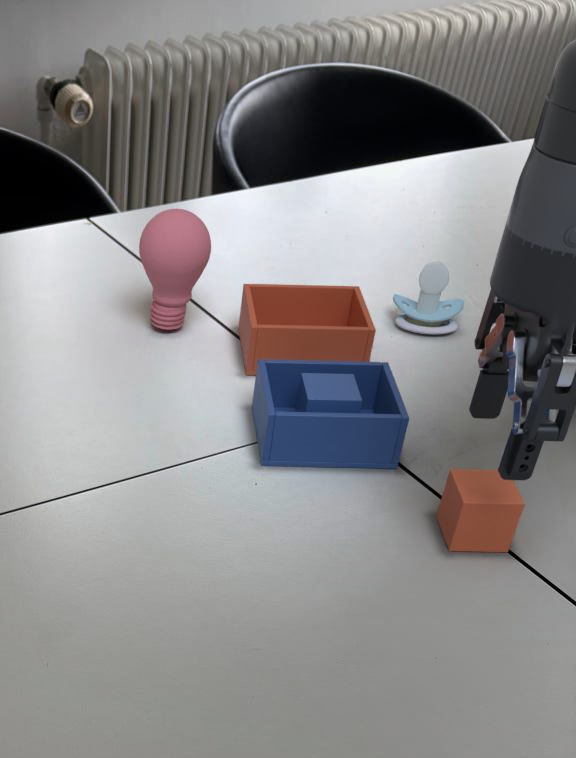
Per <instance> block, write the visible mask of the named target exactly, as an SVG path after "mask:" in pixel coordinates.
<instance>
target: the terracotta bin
mask: <svg viewBox="0 0 576 758" xmlns="http://www.w3.org/2000/svg"><path fill="white" fill-rule="evenodd" d="M237 330H238V336H239V340H240V342H239V343H240V348H241V354H242V360H243V366H244V371H245V375H246V376H256V371H257V363H258V359H264V360H265V359H269V360H312V361H356V362H370V360H371V355H372V350H373V345H374V340H375V336H376V331H377V329H376V327H375V324H374V322H373V319H372V317H371V314H370V311H369V309H368V306H367V304H366V301H365V299H364V295H363V293H362V290H361V287H360V285H359V286H358V285H357V286H356V285H322V284H321V285H319V284H317V285H315V284H278V283H277V284H276V283H272V284H271V283H243V286H242V293H241V302H240V312H239V320H238V329H237Z"/></svg>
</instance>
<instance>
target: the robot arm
mask: <svg viewBox="0 0 576 758" xmlns="http://www.w3.org/2000/svg"><path fill="white" fill-rule="evenodd" d="M536 128H537V129H536V131H535V135H534V137H533V143H532V145H531V148H530V151H529V153H528V156H527V159H526V161H525V163H524V165H523V168H522V170H521V171H520V175H519V177H518V180H517V184H516V186H515V190H514V194H513V197H512V201H511V204H510V207H509V211H508V214H507V218H506V222H505V224H504V229H503V232H502V236H501V238H500V242H499V246H498V249H497V253H496V257H495V260H494V263H493V268H492V271H491V275H490V277H489V287H490V290H489V293H488V296H487V300H486V303H485V306H484V310H483V313H482V316H481V319H480V322H479V326H478V329H477V332H476V335H475V339H474V349H475V350H478V351H479V350H480V351H481V352H480V354H479V356H478V359H477V364H478V368H479V369H480V370H479V374H478V377H477V381H476V384H475V388H474V391H473V394H472V397H471V400H470V404H469V408H468V412H469V413H470V415H471V417H472V418H473V419H478V420H479V419H481V420H482V419H483V420H485V419H486V420H488V419H489V420H494V419H497V418H498V417H499V416H500V415H501V412H502V409H503V407H504V406H503V405H504V403H505V400H506V397H507V398H508V399H509V400H510V401H512V403H513V414H512V427H511V429H510V431H509V434H508V438H507V441H506V444H505V447H504V450H503V453H502V456H501V459H500V462H499V465H498V468H497V470H498V472H499V474H500V476H501V478H502V479H504V480H513V481H527V480H529V479H530V478H531V477H532V475H533V473H534V471H535V468H536V465H537V462H538V460H539V456H540V454H541V451H542V448H543V445H544V444H545V443H544V442H563V441H565V439H566V436H567V434H568V431H569V428H570V424H571V421H572V418H573V416H574V412H575V410H576V354H573V352H572V350H573V336H574V332H575V326H576V38H575V39H573V40H572V41H570V42H569V43H568V44H567V45H565V47H564V48H563V50H562V51H561V53H560V55H559V57H558V59H557V62H556V63H555V66H554V69H553V73H552V76H551V79H550V82H549V86H548V89H547V94H546V97H545V100H544V104H543V107H542V110H541V114H540V117H539V121H538V124H537V127H536ZM494 324H495V325H494ZM493 325H494V327H493V328H492V326H493ZM524 382H534V383H535V382H536V386H527V385H525V383H524ZM529 402H530V404H529ZM528 404H529V409H528ZM557 410H558V411H557Z"/></svg>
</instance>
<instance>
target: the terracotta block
mask: <svg viewBox="0 0 576 758" xmlns="http://www.w3.org/2000/svg"><path fill="white" fill-rule="evenodd" d="M525 505H526V503H525V501H524V499H523V497H522V495H521V493H520V491H519V489H518V486H517V485H516V483H515V480H504V479H502V478H501V476H500V474H499V472H498V469H471V468H469V469H468V468H450V469H449V471H448V474H447V478H446V481H445V484H444V489H443V492H442V495H441V498H440V503H439V506H438V509H437V512H436V516H435V517H436V520H437V523H438V526H439V527H440V531H441V533H442V536H443V539H444V541H445V544H446V546H447V550H448V551H449V552H472V553H473V552H475V553H478V552H479V553H480V552H481V553H508V552H509V551H510V547H511V544H512V542H513V539H514V535H515V533H516V530H517V527H518V525H519V522H520V519H521V516H522V513H523V510H524V508H525Z"/></svg>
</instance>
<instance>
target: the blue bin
mask: <svg viewBox="0 0 576 758" xmlns="http://www.w3.org/2000/svg"><path fill="white" fill-rule="evenodd" d="M301 373H326V374H354V377H355V380H356V383H357V386H358V389H359V392H360V395H361V398H362V404H361V409H360V413H317V412H295V409H296V403H297V397H298V391H299V384H300V378H301ZM252 394H253V395H252V402H251V403H252V404H251V413H252V418H253V425H254V430H255V437H256V442H257V449H258V453H259V460H260V465H261V466H262V467H263V466H265V467H269V466H270V467H305V468H306V467H307V468H343V469H344V468H345V469H346V468H349V469H388V470H389V469H390V470H395V469H396V470H397V469H398V466H399V464H400V463H399V462H400V458H401V455H402V450H403V446H404V442H405V439H406V434H407V430H408V426H409V421H410V415H409V413H408V410H407V408H406V406H405V402H404V400H403V398H402V395H401V393H400V390H399V387H398V385H397V382H396V379H395V377H394V374H393V371H392V369H391V366H390V363H389V361H369V362H356V361H312V360H269V359H265V360H264V359H258V363H257V371H256V375H255V378H254V388H253V393H252Z"/></svg>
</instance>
